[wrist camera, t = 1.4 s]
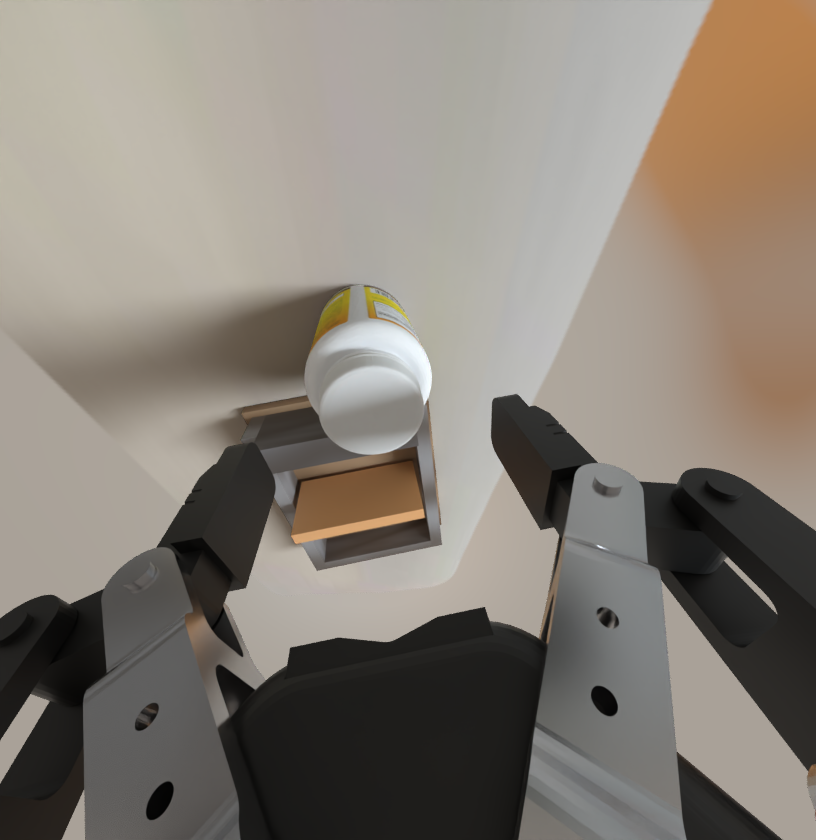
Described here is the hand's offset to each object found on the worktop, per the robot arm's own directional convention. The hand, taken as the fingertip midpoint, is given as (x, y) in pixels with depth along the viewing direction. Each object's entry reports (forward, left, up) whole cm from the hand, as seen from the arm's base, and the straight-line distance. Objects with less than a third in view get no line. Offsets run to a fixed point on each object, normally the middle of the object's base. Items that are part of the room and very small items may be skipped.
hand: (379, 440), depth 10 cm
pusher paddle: (+11, -3, -10) cm, 16 cm away
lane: (+13, -3, -11) cm, 17 cm away
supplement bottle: (0, 0, -12) cm, 12 cm away
